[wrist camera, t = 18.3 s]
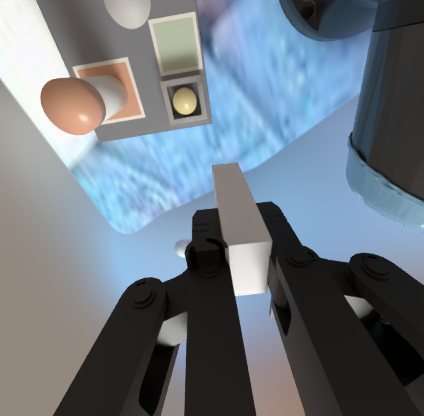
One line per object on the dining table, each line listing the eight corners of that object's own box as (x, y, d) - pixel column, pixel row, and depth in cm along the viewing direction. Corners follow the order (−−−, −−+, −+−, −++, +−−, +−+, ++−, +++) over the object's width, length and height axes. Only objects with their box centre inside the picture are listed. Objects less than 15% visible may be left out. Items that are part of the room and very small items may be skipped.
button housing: (200, 74, 26) (201, 74, 24) (206, 115, 28) (207, 119, 27) (162, 80, 26) (159, 82, 24) (172, 121, 28) (170, 125, 27)
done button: (194, 85, 26) (194, 86, 24) (198, 109, 27) (198, 112, 26) (171, 89, 26) (170, 90, 24) (177, 113, 27) (176, 116, 26)
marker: (120, 70, 25) (81, 72, 16) (134, 108, 27) (107, 129, 18) (86, 78, 25) (28, 85, 16) (103, 115, 27) (61, 139, 18)
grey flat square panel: (186, -63, 20) (186, -67, 19) (211, 122, 30) (212, 123, 29) (25, -32, 20) (19, -36, 20) (101, 140, 30) (99, 142, 29)
